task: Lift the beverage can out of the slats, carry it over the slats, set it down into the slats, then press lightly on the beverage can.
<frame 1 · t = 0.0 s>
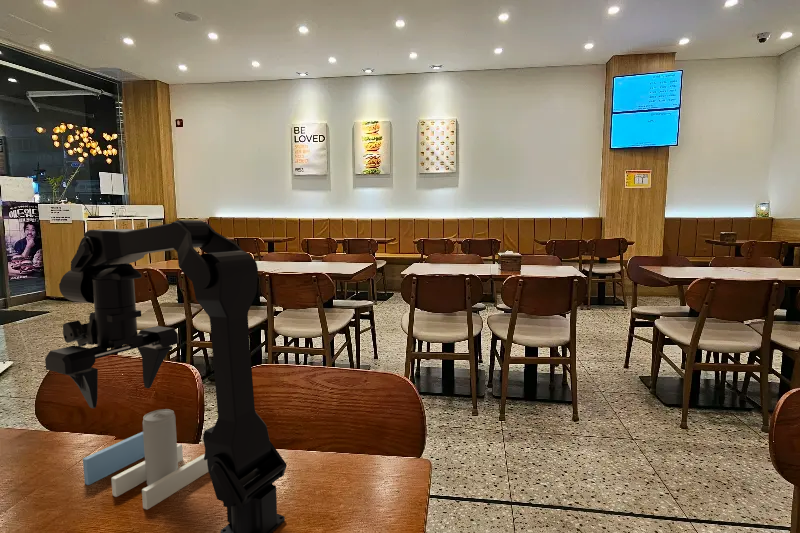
hand: (121, 397, 74), 15 cm above the table, tool pointing down, fingers open, 9 cm apart
slats: (150, 476, 77), on the table
beverage can: (163, 484, 75), on the table
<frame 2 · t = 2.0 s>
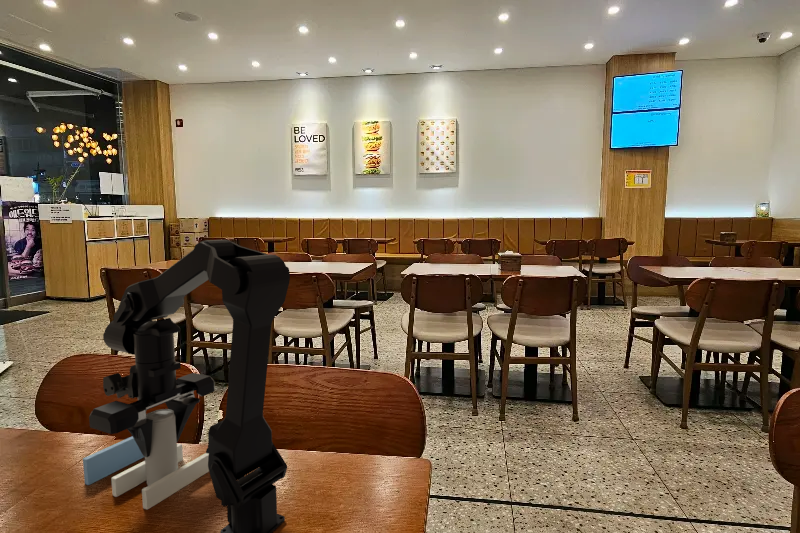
hand: (161, 448, 74), 6 cm above the table, tool pointing down, fingers closed on beverage can, 5 cm apart
beverage can: (163, 484, 75), on the table, touching gripper
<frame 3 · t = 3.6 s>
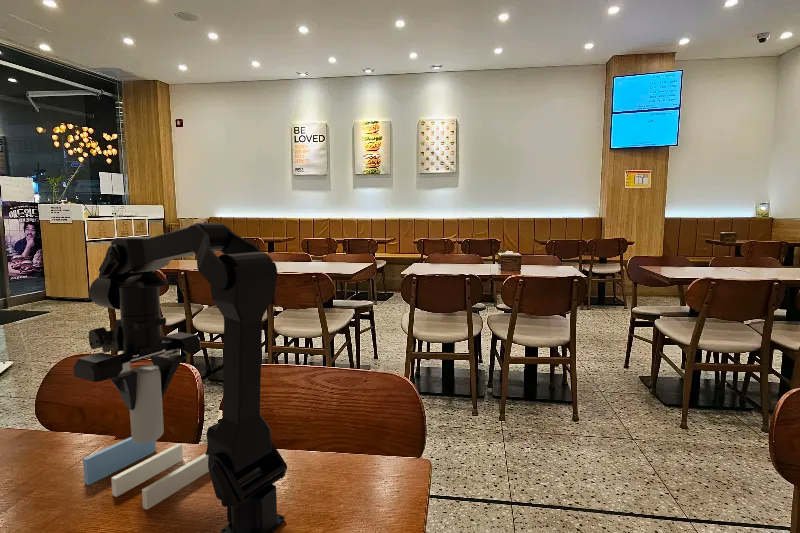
hand: (146, 403, 75), 13 cm above the table, tool pointing down, fingers closed on beverage can, 5 cm apart
beverage can: (148, 438, 76), point 7 cm above the table, touching gripper
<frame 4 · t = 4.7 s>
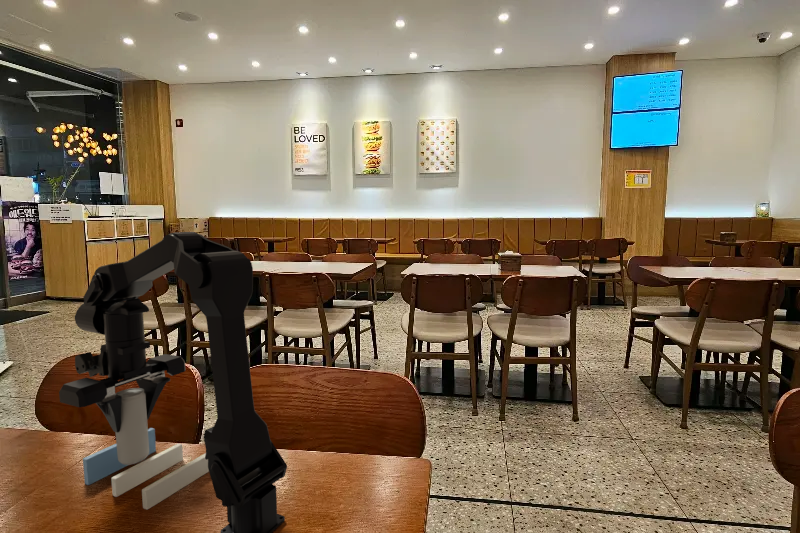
hand: (131, 425, 77), 9 cm above the table, tool pointing down, fingers closed on beverage can, 5 cm apart
beverage can: (133, 459, 78), point 2 cm above the table, touching gripper
when the fingers open (7 cm above the table, at t = 5.3 s): beverage can drops 1 cm, on the table.
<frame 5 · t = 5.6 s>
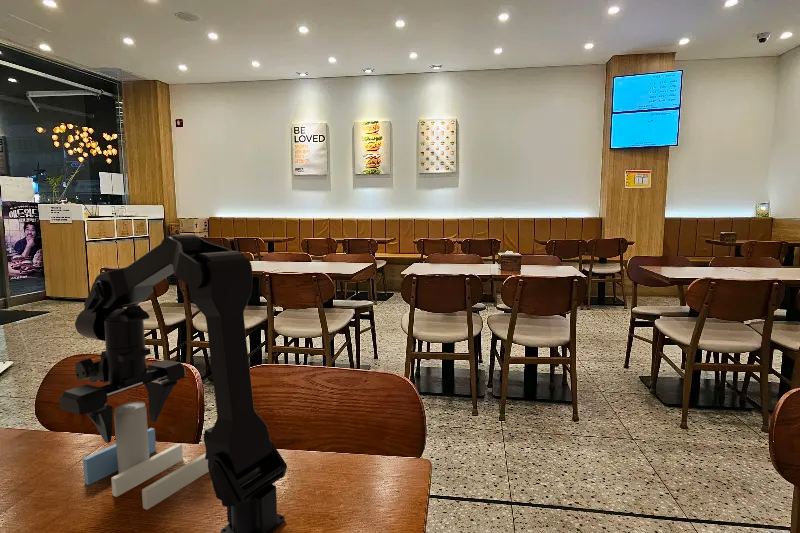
hand: (131, 431, 77), 7 cm above the table, tool pointing down, fingers open, 8 cm apart
beverage can: (134, 473, 78), on the table
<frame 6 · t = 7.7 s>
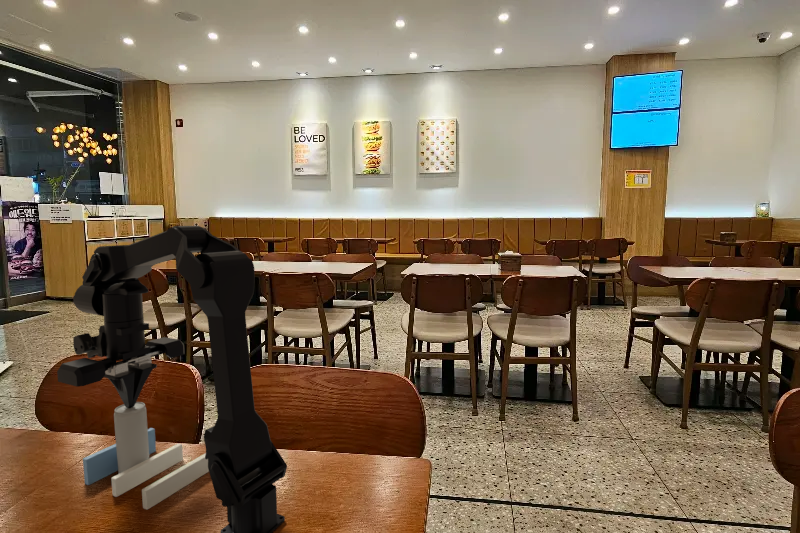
hand: (129, 407, 77), 12 cm above the table, tool pointing down, fingers closed, pressing on beverage can
beverage can: (134, 473, 78), on the table, touching gripper
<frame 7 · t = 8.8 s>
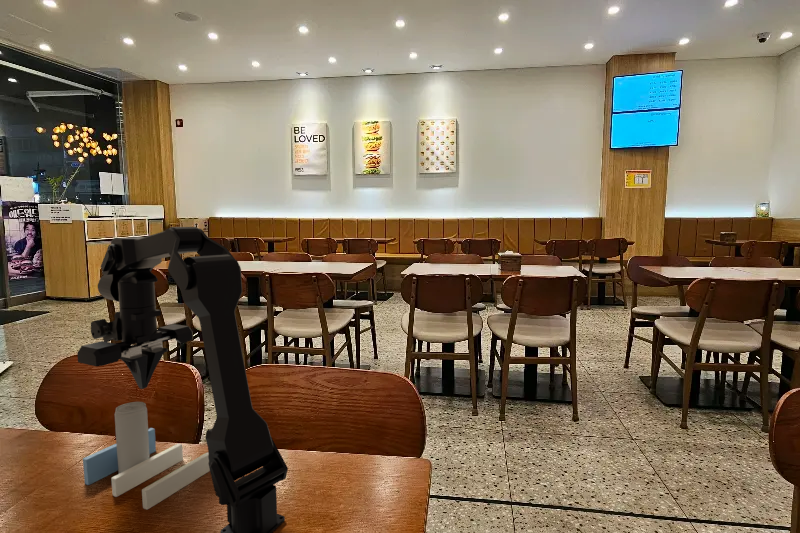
hand: (142, 388, 83), 13 cm above the table, tool pointing down, fingers closed
beverage can: (134, 473, 78), on the table
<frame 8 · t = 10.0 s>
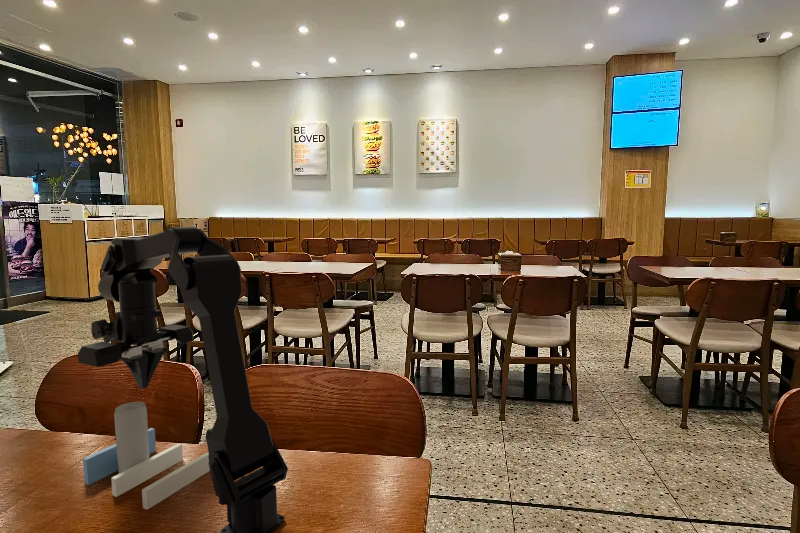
hand: (143, 388, 83), 13 cm above the table, tool pointing down, fingers closed
nothing on the table moved.
at the end: beverage can inside the target area (0.1 cm from its centre), on the table; beverage can tilted 0°; the gripper is holding nothing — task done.
